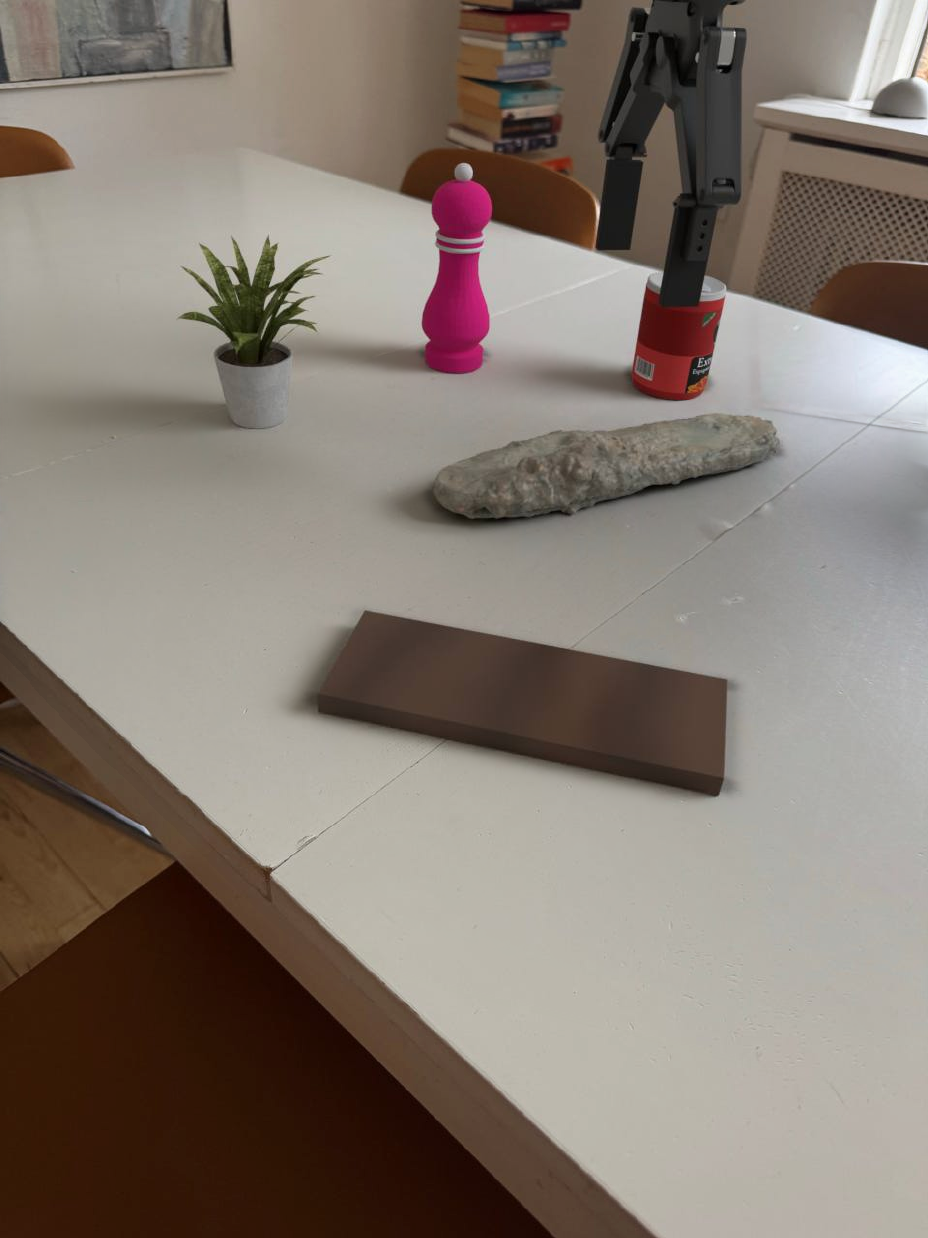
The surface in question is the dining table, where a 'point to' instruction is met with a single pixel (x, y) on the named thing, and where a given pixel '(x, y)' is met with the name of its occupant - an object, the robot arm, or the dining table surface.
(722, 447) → the elongated rock
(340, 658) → the bread board
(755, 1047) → the dining table surface
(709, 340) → the canned food
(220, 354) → the house plant
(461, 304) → the pepper mill
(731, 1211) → the dining table surface
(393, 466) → the dining table surface
